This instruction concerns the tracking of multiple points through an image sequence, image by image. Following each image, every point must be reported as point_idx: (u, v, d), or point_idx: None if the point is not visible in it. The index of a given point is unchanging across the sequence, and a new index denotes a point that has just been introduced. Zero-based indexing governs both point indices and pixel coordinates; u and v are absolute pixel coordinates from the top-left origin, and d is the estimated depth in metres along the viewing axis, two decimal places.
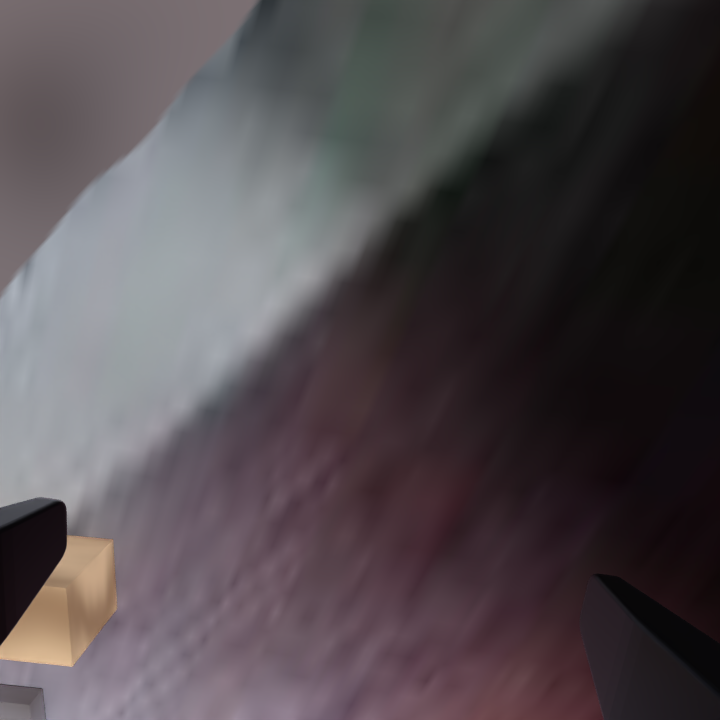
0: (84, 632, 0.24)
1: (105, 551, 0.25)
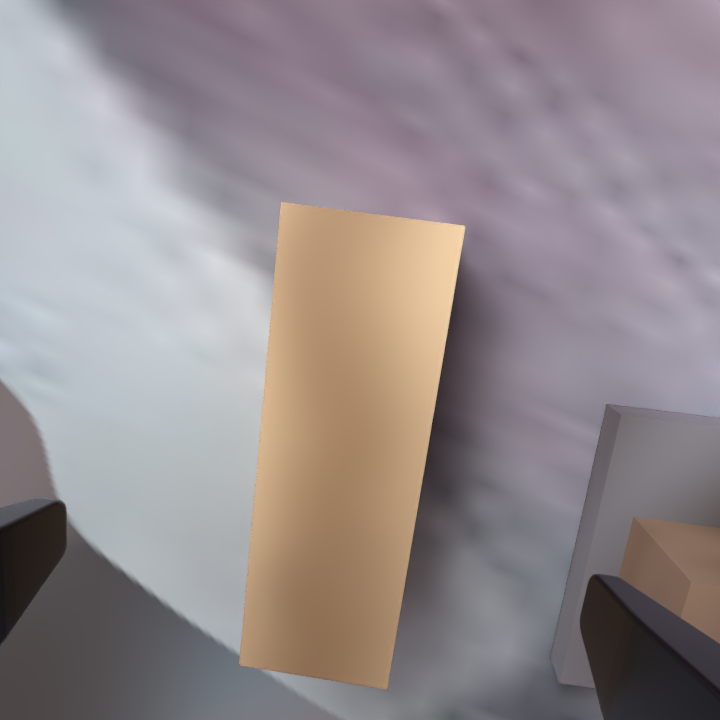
0: None
1: None
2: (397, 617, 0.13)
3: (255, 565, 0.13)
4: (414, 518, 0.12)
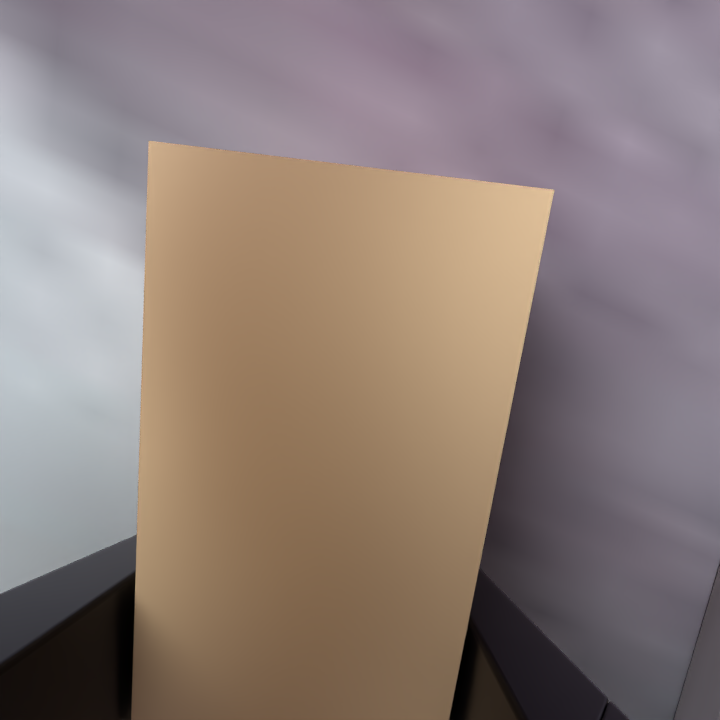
0: None
1: None
2: None
3: None
4: None
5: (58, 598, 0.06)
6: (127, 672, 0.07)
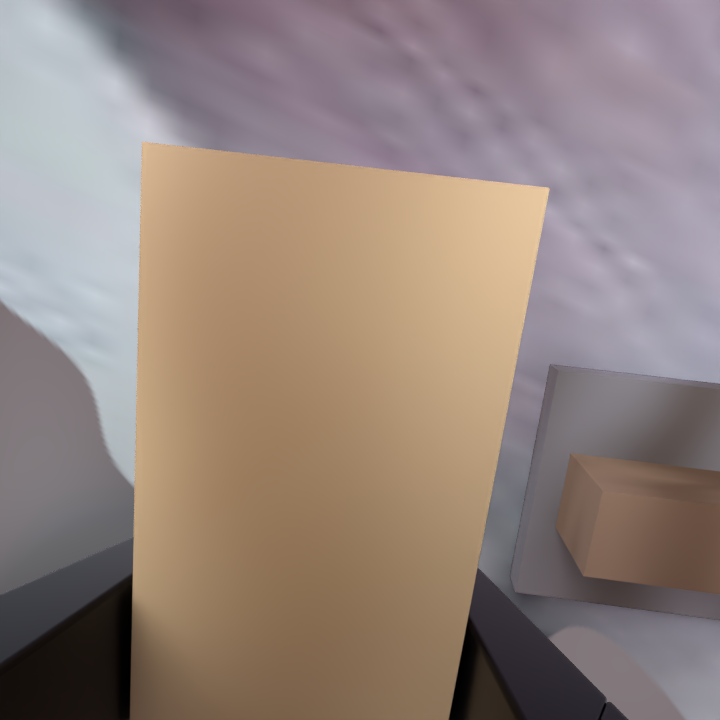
0: None
1: None
2: None
3: None
4: None
5: (59, 598, 0.06)
6: (128, 672, 0.07)
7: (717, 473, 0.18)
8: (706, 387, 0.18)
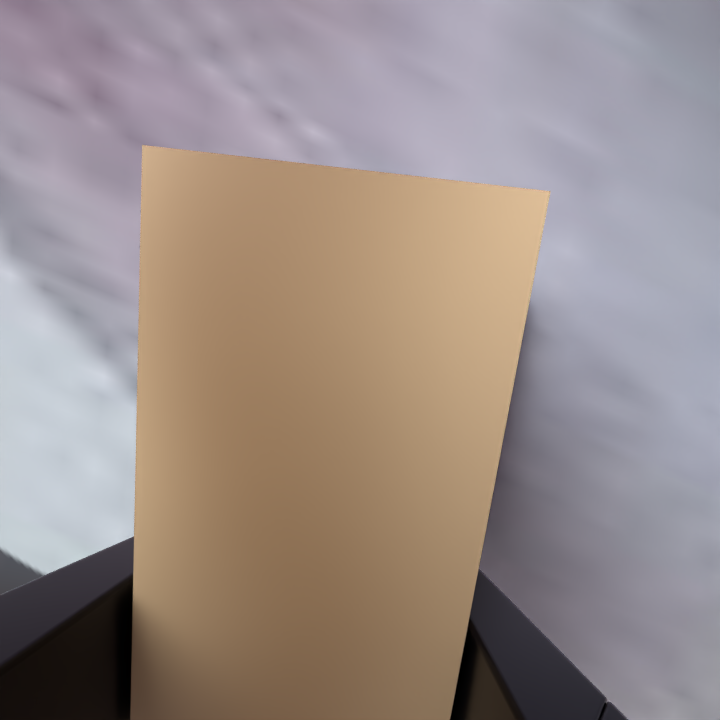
0: None
1: None
2: None
3: None
4: None
5: (60, 598, 0.06)
6: (128, 672, 0.07)
7: None
8: None
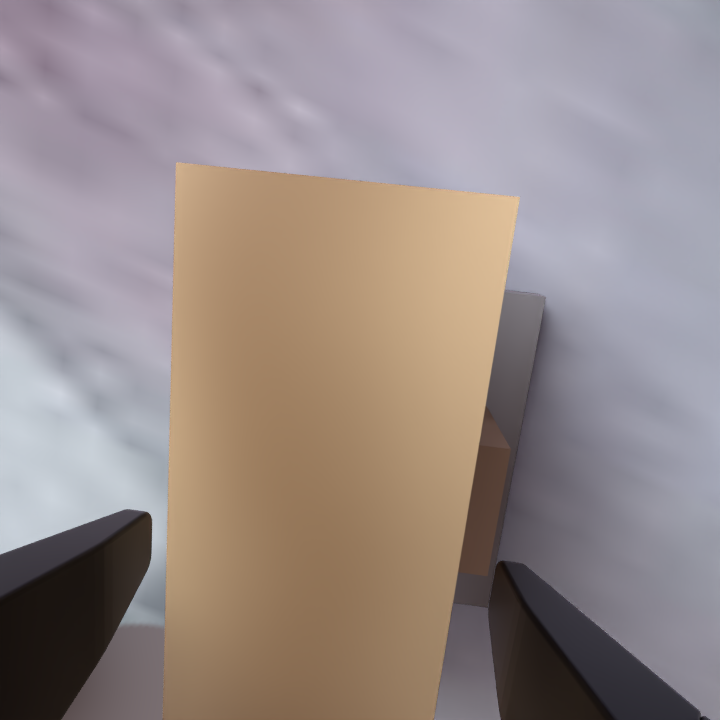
0: None
1: None
2: None
3: None
4: (433, 702, 0.07)
5: None
6: (59, 662, 0.07)
7: None
8: None
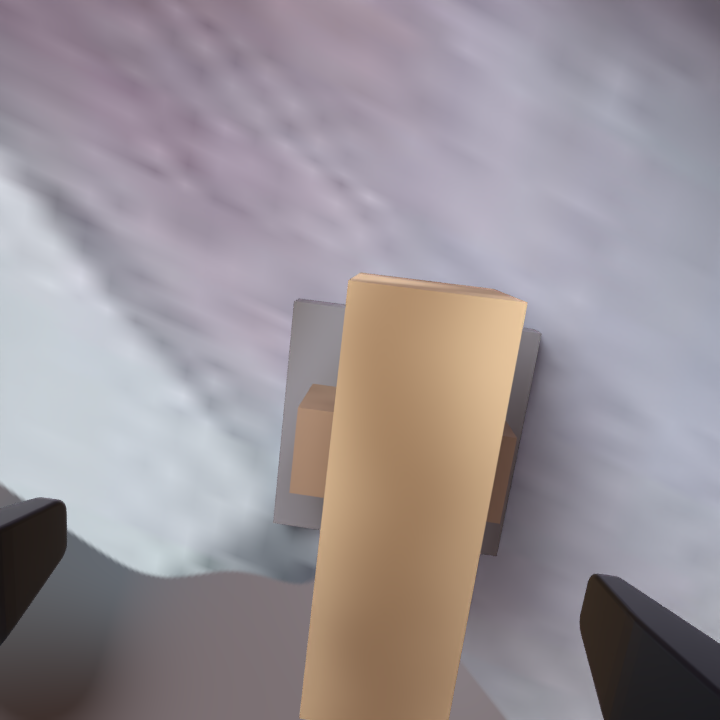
0: (478, 293, 0.12)
1: (365, 274, 0.14)
2: (455, 672, 0.13)
3: (317, 623, 0.13)
4: (473, 578, 0.13)
5: None
6: None
7: None
8: None
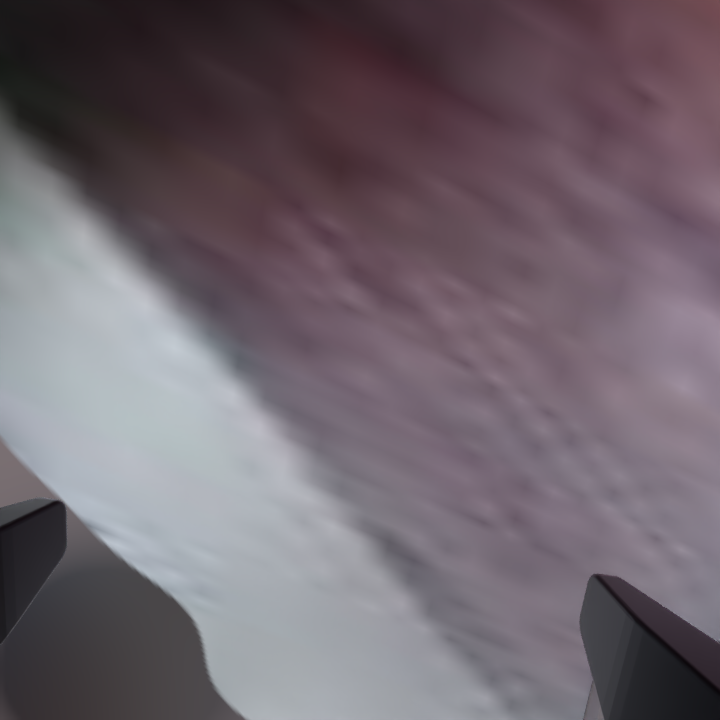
0: None
1: None
2: None
3: None
4: None
5: None
6: None
7: None
8: None
